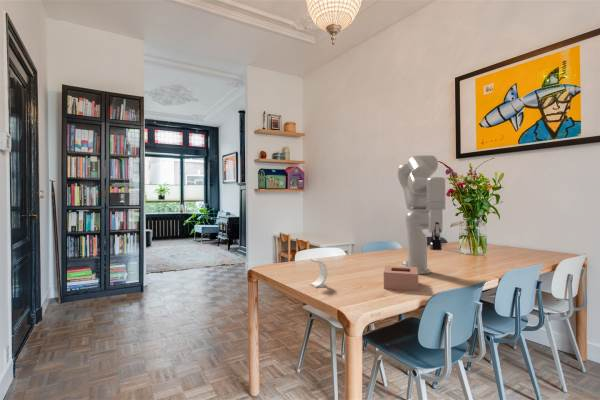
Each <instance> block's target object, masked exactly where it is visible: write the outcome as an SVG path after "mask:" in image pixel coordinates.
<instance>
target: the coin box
mask: <svg viewBox="0 0 600 400" xmlns="http://www.w3.org/2000/svg"><path fill="white" fill-rule="evenodd" d="M383 289H385V290H386V289H387V290H399V291H400V290H401V291H416V292H419V274H418V270H417V267H406V265H402V266H400V265H399V266H398V265H385V266H384V269H383Z"/></svg>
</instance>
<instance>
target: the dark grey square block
mask: <svg viewBox="0 0 600 400" xmlns="http://www.w3.org/2000/svg"><path fill="white" fill-rule="evenodd" d="M429 250H430V251H442V250H443V243H442V242H441V249H440V250H438V249H433V246H432V242H431V241H430V243H429Z"/></svg>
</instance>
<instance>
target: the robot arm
mask: <svg viewBox="0 0 600 400" xmlns="http://www.w3.org/2000/svg"><path fill="white" fill-rule="evenodd" d="M438 166H439V161H438V159H437V157H436V156H434V155H432V154H431V155H427V154H426V155H413V156H411V157H410V158H409V159H408V161H407V163H403V164H401V165H399V166H398V168H397V178H398V182H399V184H400V186H401V187H402V190H403V194H404V201H405V206H406V209H407V210H408V212H407V214H406V216H405V223H406V230H407V231H406V232H407V261H406V260H403V262H402V263H401V265H402V266H405V267H417V270H418V275H426V274H427V275H428V274H431V269H430V268H428V238H427V235H426V234H425V233H424V232H423V230H428V232H429V233H431V238H430V240H431V241H430V242H432V246H433V249H438V250H437V251H441V250H440V249H441V243H442V242H441V233H442V232H443V221H444V220H443V216H444V215H443V210H446V179H445V178H444V177H441V176H433V174H435V172H436V171H437V169H438ZM431 176H433V177H431Z"/></svg>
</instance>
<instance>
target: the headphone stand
mask: <svg viewBox="0 0 600 400" xmlns="http://www.w3.org/2000/svg"><path fill="white" fill-rule="evenodd" d="M309 260H310V262H314V263H317V265H318V266H319V269H320V271H319V275H318V278H317V279H316V280H315V281H314V282H311V283H310V286H311V287H314V288H316V289H317V288H324V287H326V286H327V285H326V280H327V278H328V268H327V266H326V264H325V263H324V262H323V261H321V260H318V259H315V258H310V259H309Z"/></svg>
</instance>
